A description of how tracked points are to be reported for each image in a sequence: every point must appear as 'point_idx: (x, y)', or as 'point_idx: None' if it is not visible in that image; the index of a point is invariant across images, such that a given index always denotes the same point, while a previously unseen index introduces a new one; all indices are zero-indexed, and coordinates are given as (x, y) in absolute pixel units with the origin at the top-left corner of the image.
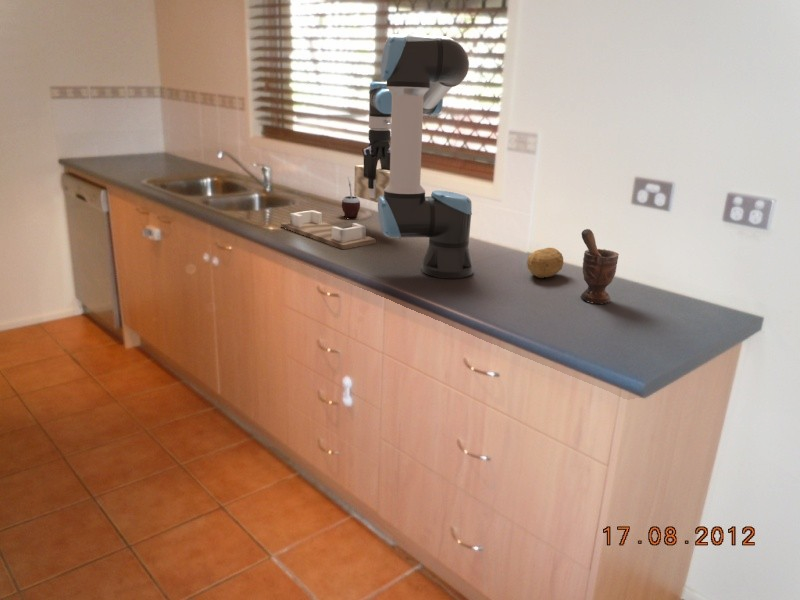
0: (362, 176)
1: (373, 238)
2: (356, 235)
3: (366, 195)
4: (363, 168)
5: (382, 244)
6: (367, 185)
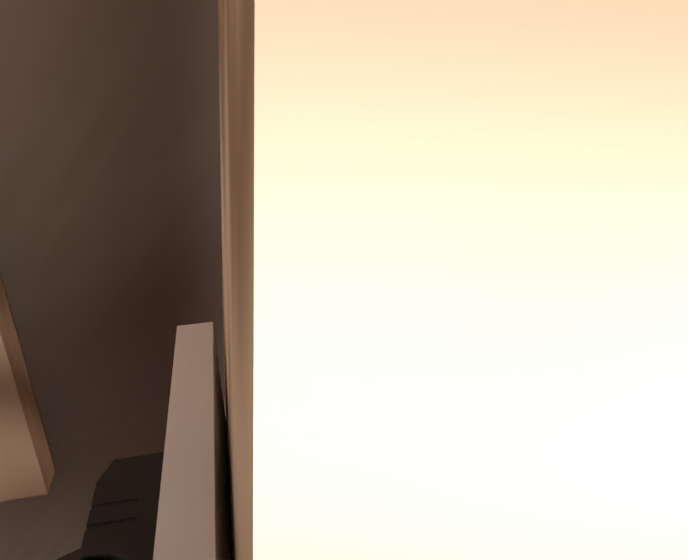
0: (229, 54)
1: (36, 479)
2: None
3: (221, 183)
4: (249, 198)
5: (87, 507)
6: (227, 275)
